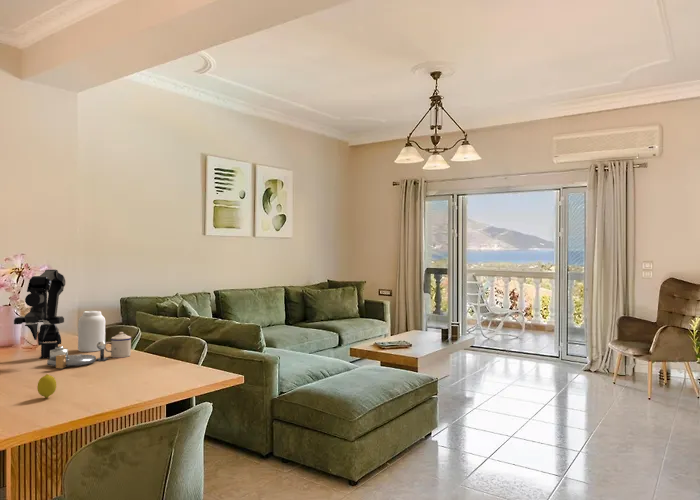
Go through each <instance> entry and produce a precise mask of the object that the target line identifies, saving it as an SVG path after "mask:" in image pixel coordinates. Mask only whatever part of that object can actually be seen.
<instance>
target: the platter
mask: <svg viewBox="0 0 700 500" xmlns="http://www.w3.org/2000/svg"><path fill="white" fill-rule="evenodd" d="M96 359H97V357H96V356H95V355H93V354H68V359H66V355H57V356H56V360H50V358H47V361H46V362H47V363H46V365H47V366H50V367H55V369H64V368H67V367H66V366H74V367H79V366H78V365H81V366H85V365H89V364H93V363H95V362H97V361H96Z"/></svg>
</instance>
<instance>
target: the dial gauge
mask: <svg viewBox="0 0 700 500" xmlns="http://www.w3.org/2000/svg"><path fill="white" fill-rule="evenodd" d="M105 343H106V342H105ZM105 343H104V342H99V343H98V344H97V348H98V349H99V350H100V351H99V357H98V358H96V361H95V362H106V361H108V360H109V357H105V349H104V348H105V347H106V346H107V344H105Z"/></svg>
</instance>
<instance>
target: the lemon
mask: <svg viewBox="0 0 700 500" xmlns="http://www.w3.org/2000/svg"><path fill="white" fill-rule="evenodd" d="M36 387H37V392H38V394H39V395H40V396H41V397H44V398H45V399H47V398H49V397H51V396H52V395H53V394H55V392H56V389H57V381H56V379H55V377H54V376H53V375H50V374H49V373H46V374H44V375H43V376H41V378H39V381H38V382H37V386H36Z"/></svg>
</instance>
